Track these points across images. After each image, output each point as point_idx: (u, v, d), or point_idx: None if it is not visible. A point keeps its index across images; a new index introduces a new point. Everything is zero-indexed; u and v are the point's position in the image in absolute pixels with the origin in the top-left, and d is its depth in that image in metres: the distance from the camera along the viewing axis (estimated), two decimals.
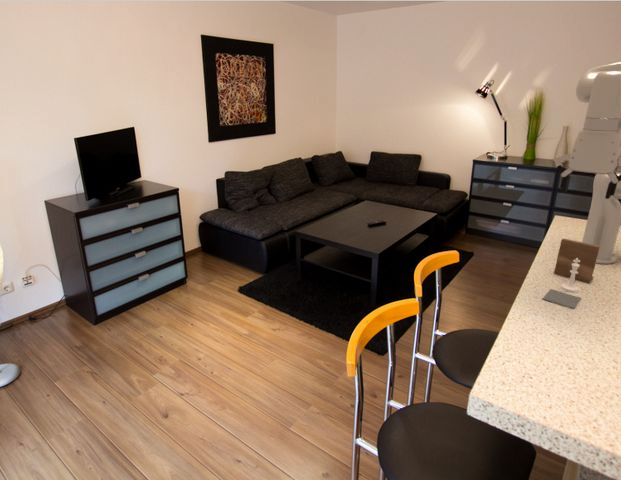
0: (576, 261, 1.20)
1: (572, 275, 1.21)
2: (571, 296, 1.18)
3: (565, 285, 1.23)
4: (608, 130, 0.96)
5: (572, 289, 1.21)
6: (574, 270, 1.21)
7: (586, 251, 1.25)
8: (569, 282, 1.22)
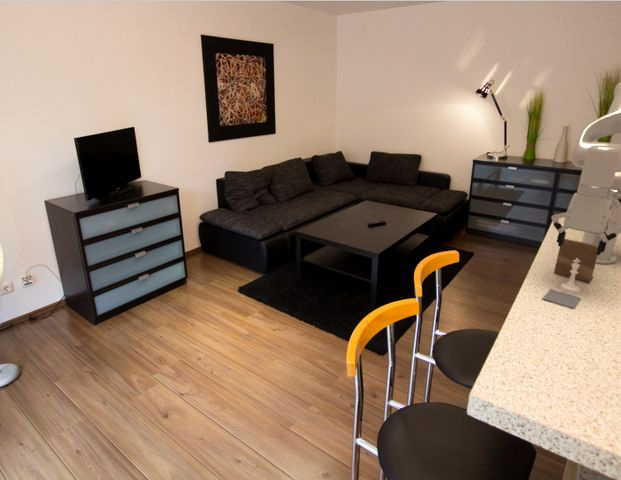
0: (576, 261, 1.20)
1: (572, 275, 1.21)
2: (571, 296, 1.18)
3: (565, 285, 1.23)
4: (599, 197, 1.09)
5: (572, 289, 1.21)
6: (574, 270, 1.21)
7: (586, 251, 1.25)
8: (569, 282, 1.22)
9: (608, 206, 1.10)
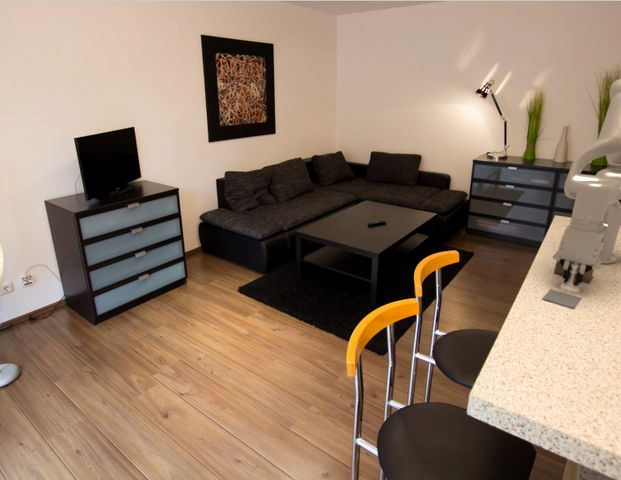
0: None
1: (572, 275, 1.21)
2: (571, 296, 1.18)
3: (565, 285, 1.23)
4: (590, 231, 1.13)
5: (572, 289, 1.21)
6: (574, 270, 1.21)
7: None
8: (569, 282, 1.22)
9: (599, 240, 1.13)
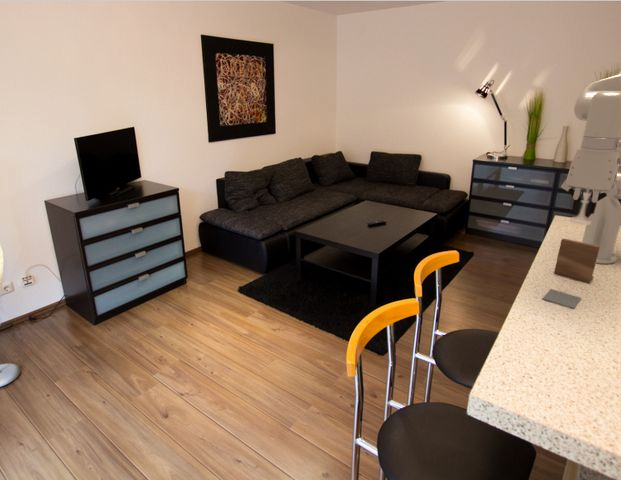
0: None
1: (583, 205, 1.07)
2: (571, 296, 1.18)
3: (575, 218, 1.09)
4: (605, 149, 0.99)
5: (583, 221, 1.07)
6: (585, 199, 1.07)
7: (586, 251, 1.25)
8: (580, 214, 1.08)
9: (615, 159, 0.99)
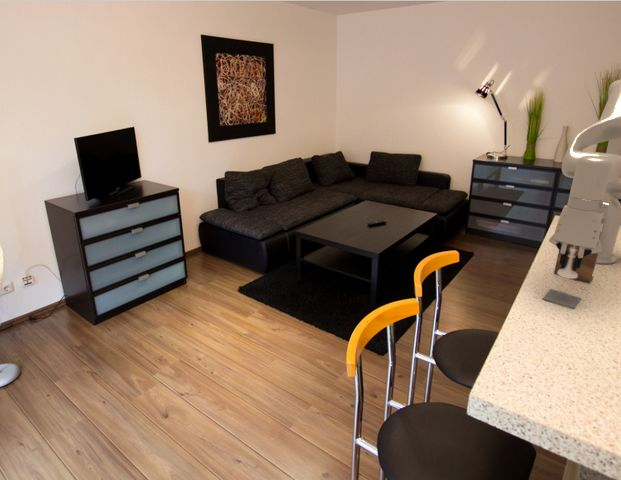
0: None
1: (570, 259, 1.12)
2: (571, 296, 1.18)
3: (562, 271, 1.14)
4: (590, 210, 1.04)
5: (570, 275, 1.12)
6: (572, 254, 1.12)
7: None
8: (566, 267, 1.13)
9: (599, 220, 1.04)
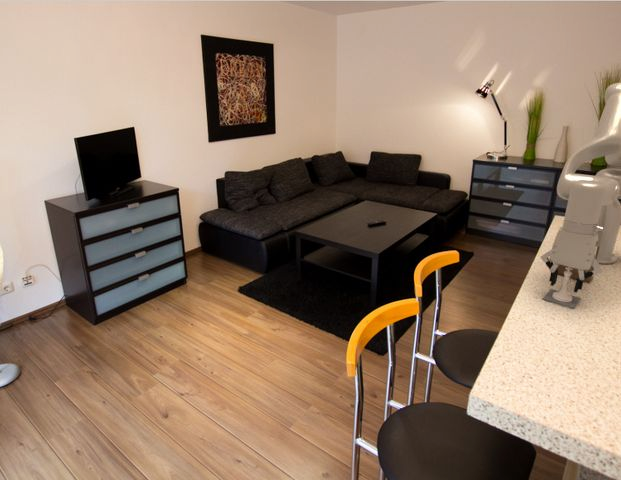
0: (568, 269, 1.14)
1: (564, 283, 1.15)
2: None
3: (557, 294, 1.17)
4: (584, 234, 1.06)
5: (564, 298, 1.15)
6: (566, 278, 1.14)
7: None
8: (561, 291, 1.16)
9: (593, 243, 1.07)
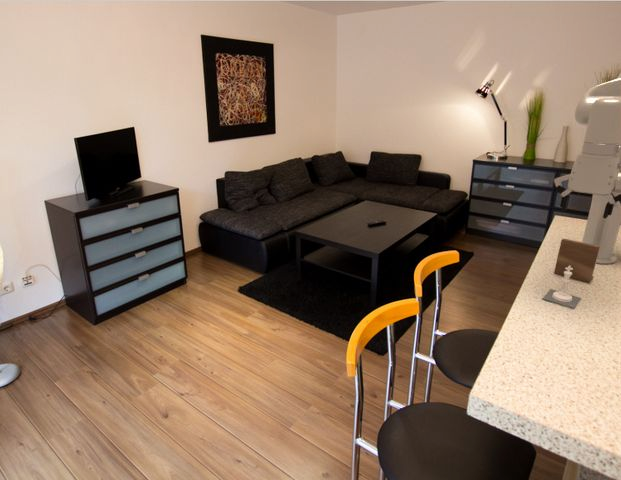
0: (568, 269, 1.14)
1: (564, 283, 1.15)
2: None
3: (557, 294, 1.17)
4: (605, 154, 1.01)
5: (564, 298, 1.15)
6: (566, 278, 1.14)
7: (586, 251, 1.25)
8: (561, 291, 1.16)
9: (615, 164, 1.01)
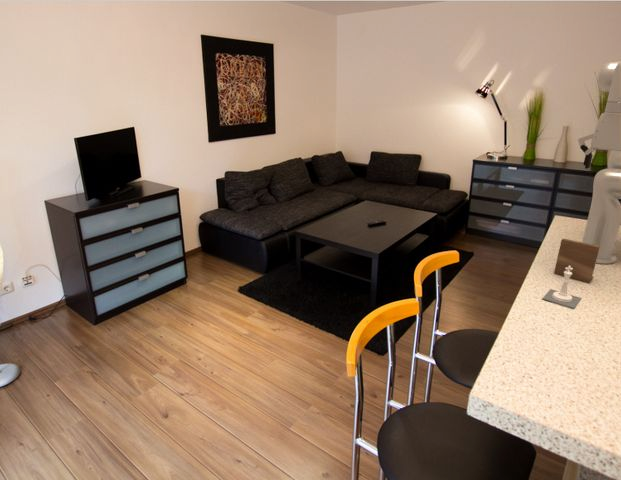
0: (568, 269, 1.14)
1: (564, 283, 1.15)
2: None
3: (557, 294, 1.17)
4: None
5: (564, 298, 1.15)
6: (566, 278, 1.14)
7: (586, 251, 1.25)
8: (561, 291, 1.16)
9: None
